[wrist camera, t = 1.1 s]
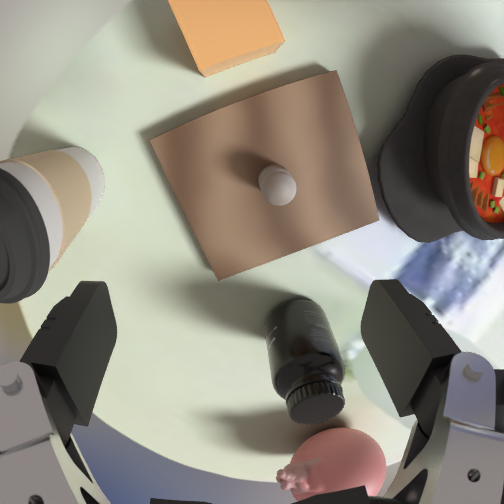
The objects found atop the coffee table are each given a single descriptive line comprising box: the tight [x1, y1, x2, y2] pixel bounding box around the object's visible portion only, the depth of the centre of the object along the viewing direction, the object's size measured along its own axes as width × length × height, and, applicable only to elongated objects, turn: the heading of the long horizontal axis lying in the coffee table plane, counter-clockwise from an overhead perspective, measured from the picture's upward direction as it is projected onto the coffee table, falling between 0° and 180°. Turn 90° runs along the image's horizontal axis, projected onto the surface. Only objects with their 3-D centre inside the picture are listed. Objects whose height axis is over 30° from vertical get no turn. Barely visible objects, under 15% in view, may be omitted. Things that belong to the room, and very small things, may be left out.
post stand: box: [150, 70, 379, 281], centre depth 25 cm, size 16×14×6 cm
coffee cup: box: [0, 147, 105, 303], centre depth 19 cm, size 9×9×15 cm
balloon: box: [276, 428, 386, 501], centre depth 39 cm, size 15×20×15 cm
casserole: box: [378, 54, 504, 243], centre depth 23 cm, size 25×19×8 cm
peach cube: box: [168, 0, 285, 77], centre depth 19 cm, size 6×6×6 cm
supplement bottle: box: [265, 299, 345, 424], centre depth 29 cm, size 7×7×12 cm
